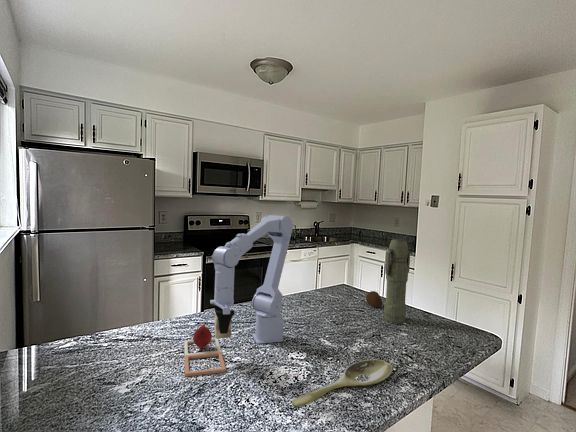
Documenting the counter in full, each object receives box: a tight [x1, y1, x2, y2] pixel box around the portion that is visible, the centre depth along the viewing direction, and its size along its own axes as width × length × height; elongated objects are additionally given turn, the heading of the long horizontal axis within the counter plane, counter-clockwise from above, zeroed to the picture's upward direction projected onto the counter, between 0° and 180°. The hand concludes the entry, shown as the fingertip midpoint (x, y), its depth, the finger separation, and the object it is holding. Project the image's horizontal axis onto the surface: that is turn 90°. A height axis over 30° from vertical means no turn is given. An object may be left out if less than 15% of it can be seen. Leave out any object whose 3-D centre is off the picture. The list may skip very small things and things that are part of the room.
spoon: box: [291, 358, 393, 407], centre depth 89 cm, size 35×11×2 cm, turn 124°
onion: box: [192, 323, 213, 349], centre depth 107 cm, size 6×6×8 cm
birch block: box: [213, 313, 233, 340], centre depth 101 cm, size 4×4×6 cm
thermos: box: [383, 238, 411, 325], centre depth 141 cm, size 9×12×35 cm
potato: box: [365, 290, 383, 308], centre depth 161 cm, size 7×10×7 cm
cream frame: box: [183, 337, 222, 356], centre depth 107 cm, size 11×11×1 cm
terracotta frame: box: [184, 351, 227, 378], centre depth 97 cm, size 11×11×1 cm
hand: (222, 329), depth 101 cm, fingers closed on birch block, 4 cm apart
